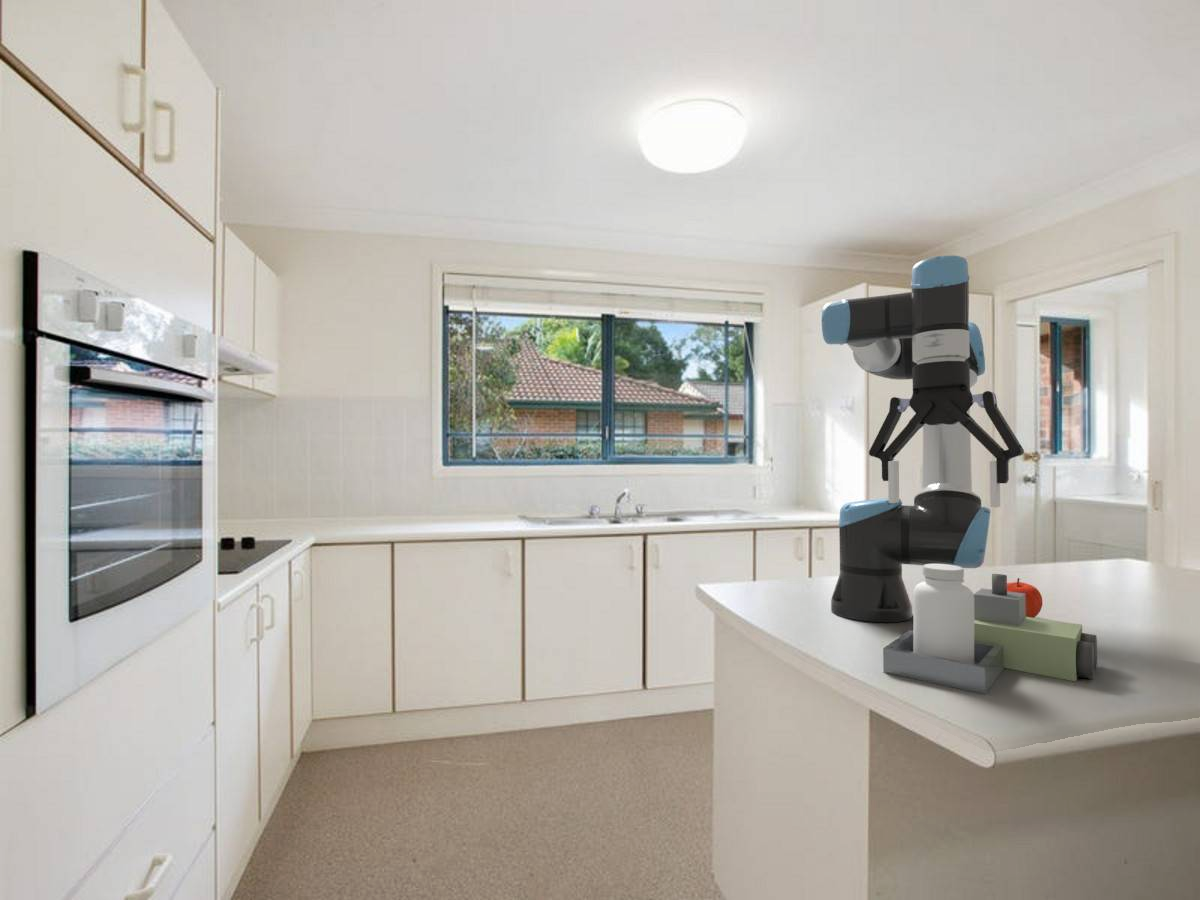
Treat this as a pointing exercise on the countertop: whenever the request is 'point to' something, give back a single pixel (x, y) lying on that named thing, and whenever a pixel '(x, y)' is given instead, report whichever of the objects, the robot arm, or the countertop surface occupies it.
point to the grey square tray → (945, 665)
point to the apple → (1028, 597)
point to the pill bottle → (944, 614)
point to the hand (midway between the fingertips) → (942, 504)
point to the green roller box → (1031, 636)
